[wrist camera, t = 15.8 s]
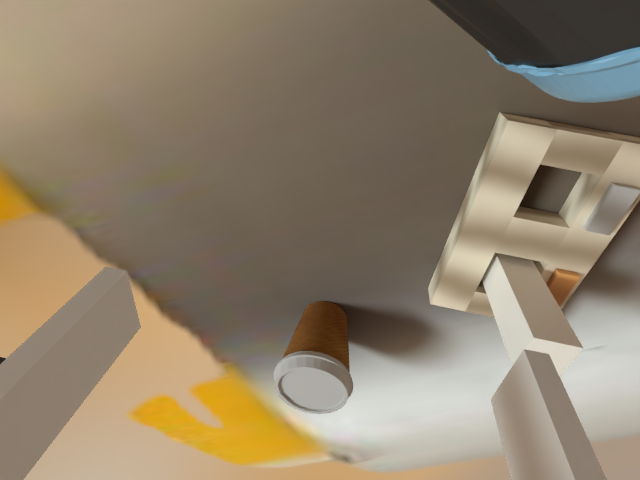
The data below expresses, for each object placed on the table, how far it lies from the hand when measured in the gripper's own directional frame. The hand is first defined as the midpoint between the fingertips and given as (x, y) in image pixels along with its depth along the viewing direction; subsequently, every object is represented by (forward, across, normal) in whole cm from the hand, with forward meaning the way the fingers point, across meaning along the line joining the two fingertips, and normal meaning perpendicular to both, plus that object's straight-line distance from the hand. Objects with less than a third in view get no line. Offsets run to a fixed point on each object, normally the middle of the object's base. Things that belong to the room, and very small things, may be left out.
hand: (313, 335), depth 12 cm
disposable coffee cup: (+28, 0, -28) cm, 40 cm away
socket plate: (+28, +19, -9) cm, 35 cm away
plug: (+28, +19, -14) cm, 37 cm away
